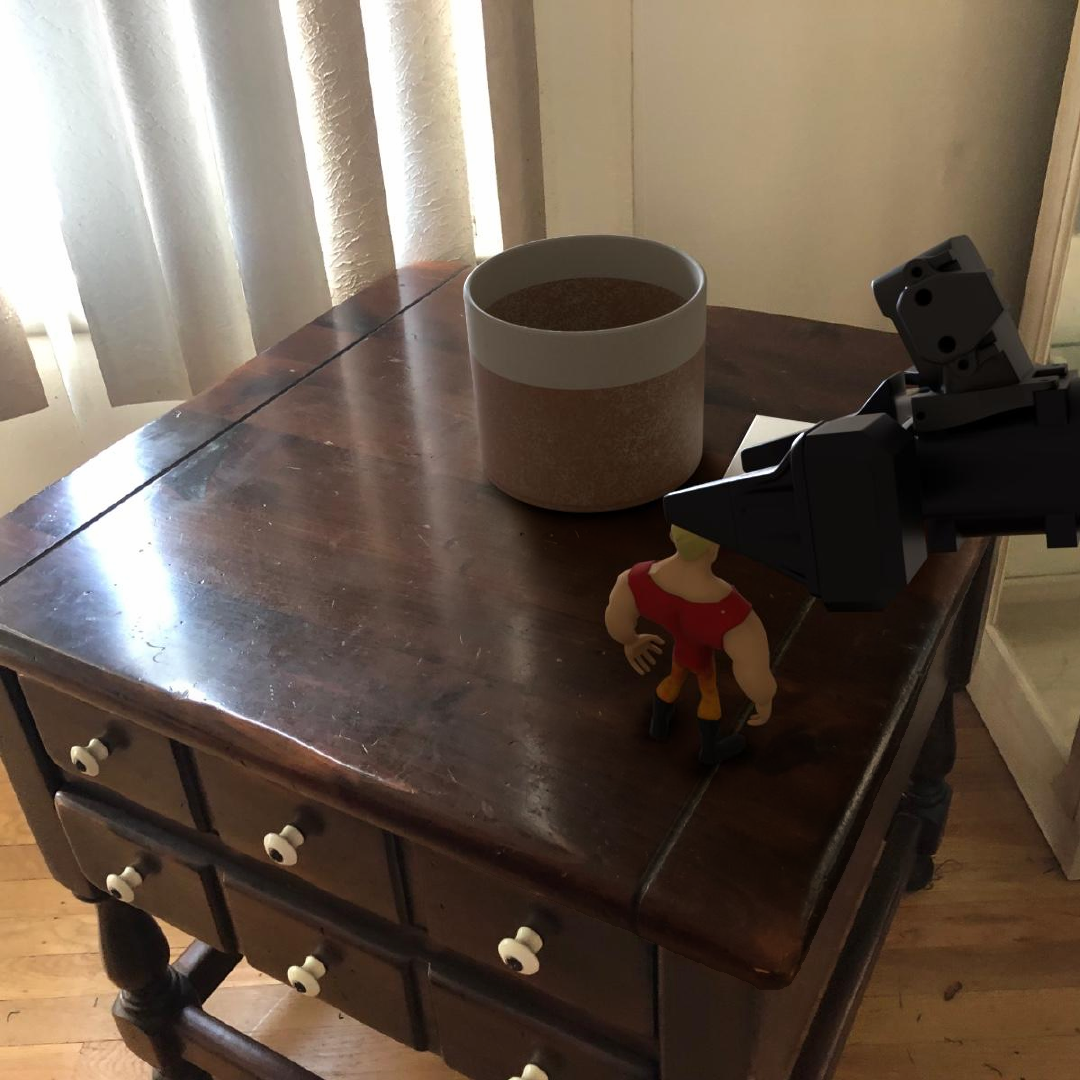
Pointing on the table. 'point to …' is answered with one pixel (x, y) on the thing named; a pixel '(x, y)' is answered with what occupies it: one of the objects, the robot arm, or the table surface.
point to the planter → (588, 370)
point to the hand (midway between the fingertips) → (706, 482)
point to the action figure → (693, 637)
